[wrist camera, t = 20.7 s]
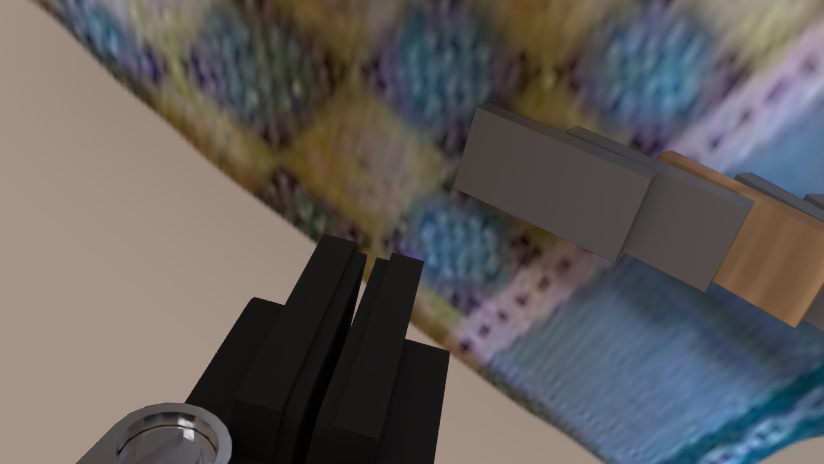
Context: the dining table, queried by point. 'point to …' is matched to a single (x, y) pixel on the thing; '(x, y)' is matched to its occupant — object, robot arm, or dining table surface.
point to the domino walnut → (768, 250)
